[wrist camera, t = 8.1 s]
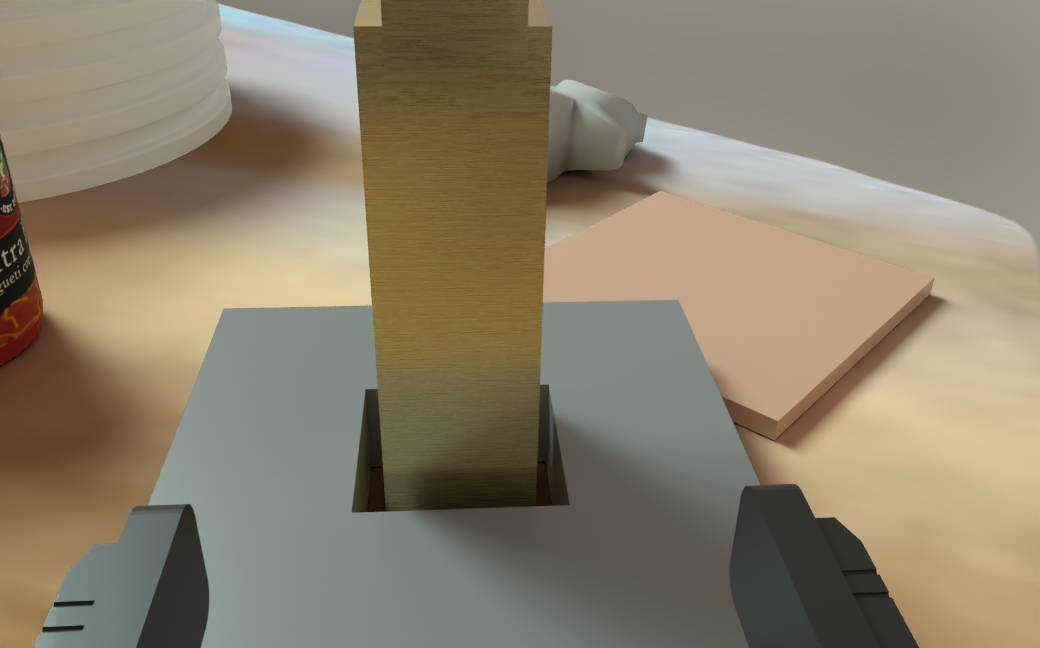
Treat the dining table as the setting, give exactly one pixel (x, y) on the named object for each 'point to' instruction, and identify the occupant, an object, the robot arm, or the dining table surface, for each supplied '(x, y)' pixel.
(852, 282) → the tile
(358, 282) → the dining table surface
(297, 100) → the dining table surface
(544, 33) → the t key
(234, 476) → the cover plate
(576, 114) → the bunny figurine
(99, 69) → the plate stack
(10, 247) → the canned food
